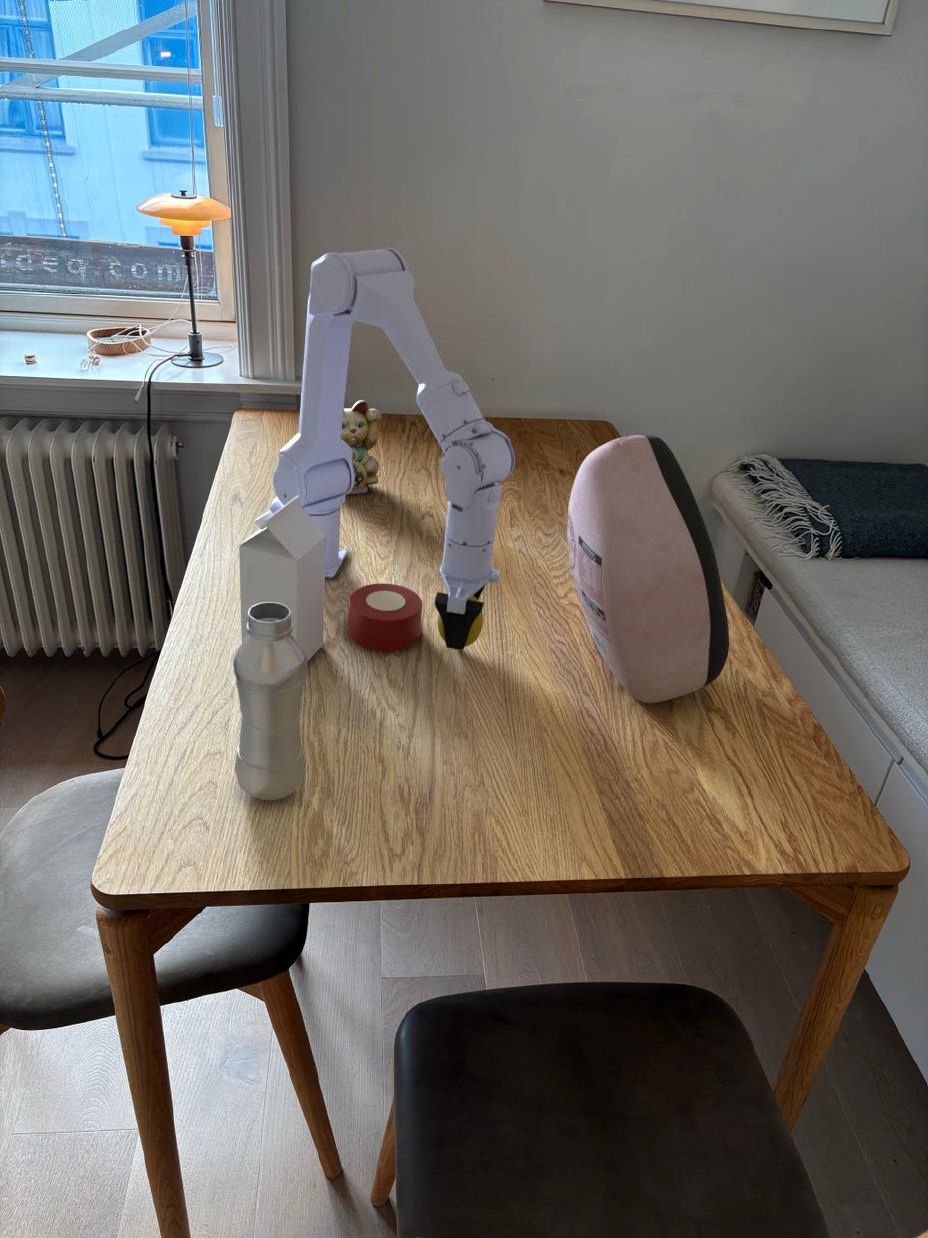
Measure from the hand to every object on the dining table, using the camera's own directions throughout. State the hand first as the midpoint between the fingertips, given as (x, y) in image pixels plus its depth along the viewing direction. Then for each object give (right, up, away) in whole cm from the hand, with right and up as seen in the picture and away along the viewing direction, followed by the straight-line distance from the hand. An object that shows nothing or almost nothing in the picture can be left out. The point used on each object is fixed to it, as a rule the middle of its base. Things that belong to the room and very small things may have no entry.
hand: (458, 634), depth 117 cm
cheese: (-9, 0, +3) cm, 10 cm away
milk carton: (-21, -2, -3) cm, 21 cm away
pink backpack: (+21, -5, 0) cm, 21 cm away
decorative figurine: (-19, +24, +40) cm, 50 cm away
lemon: (0, -2, +1) cm, 2 cm away
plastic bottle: (-18, -15, -23) cm, 33 cm away
